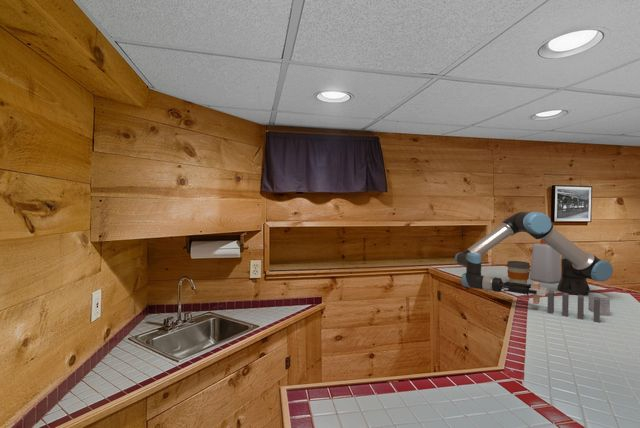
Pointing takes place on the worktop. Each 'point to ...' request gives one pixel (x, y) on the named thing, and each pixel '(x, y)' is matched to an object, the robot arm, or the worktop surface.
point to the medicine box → (603, 303)
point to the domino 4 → (596, 309)
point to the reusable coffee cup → (518, 271)
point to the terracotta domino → (536, 297)
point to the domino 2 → (565, 304)
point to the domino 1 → (550, 302)
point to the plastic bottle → (545, 264)
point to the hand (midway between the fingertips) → (545, 292)
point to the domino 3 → (580, 307)
